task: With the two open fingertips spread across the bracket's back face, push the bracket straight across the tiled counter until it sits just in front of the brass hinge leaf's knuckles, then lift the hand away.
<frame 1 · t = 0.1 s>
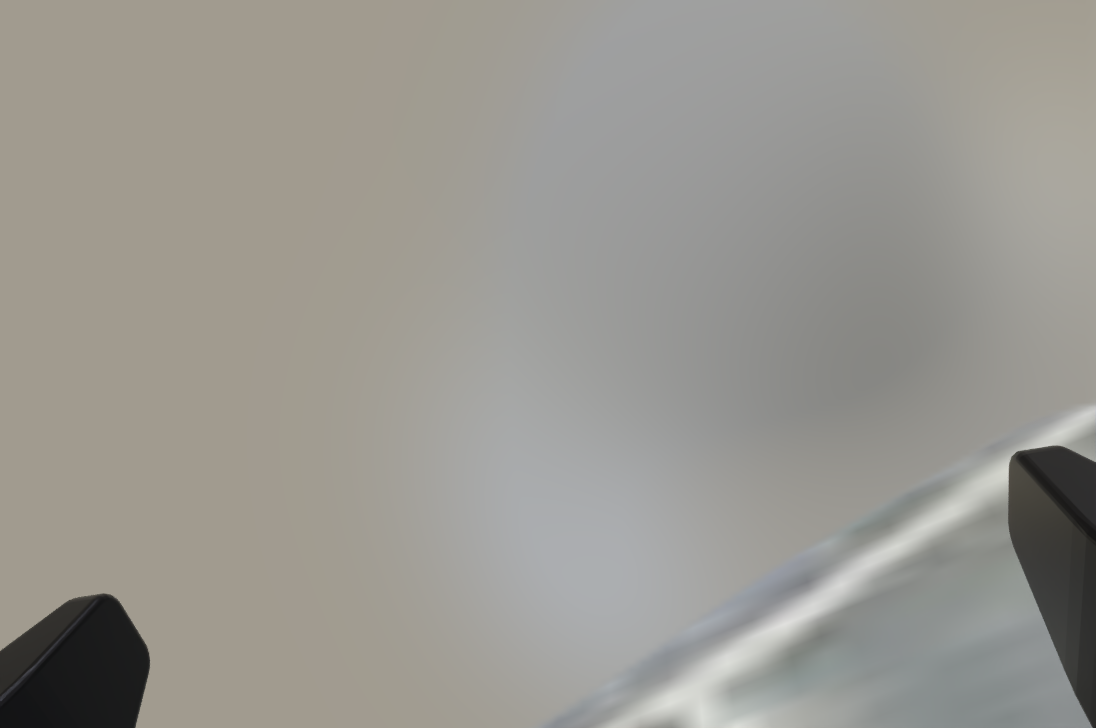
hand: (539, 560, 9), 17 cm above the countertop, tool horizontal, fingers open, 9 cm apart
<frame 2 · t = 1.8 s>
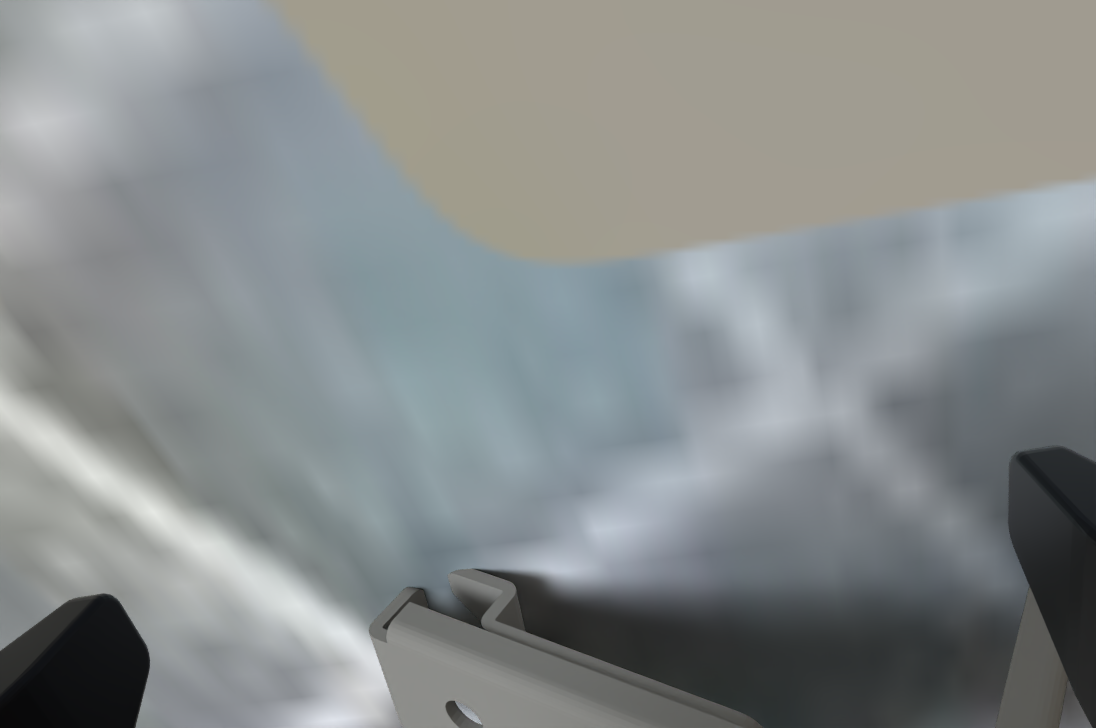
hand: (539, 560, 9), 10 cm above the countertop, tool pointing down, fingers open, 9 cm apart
bracket: (730, 676, 26), on the countertop
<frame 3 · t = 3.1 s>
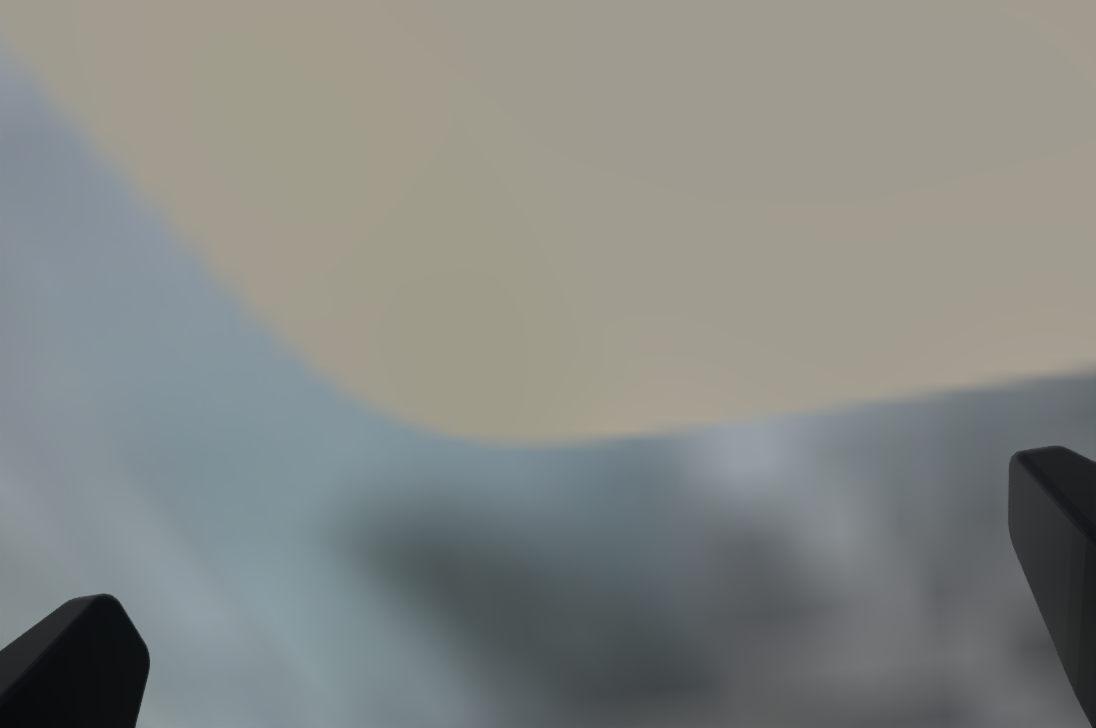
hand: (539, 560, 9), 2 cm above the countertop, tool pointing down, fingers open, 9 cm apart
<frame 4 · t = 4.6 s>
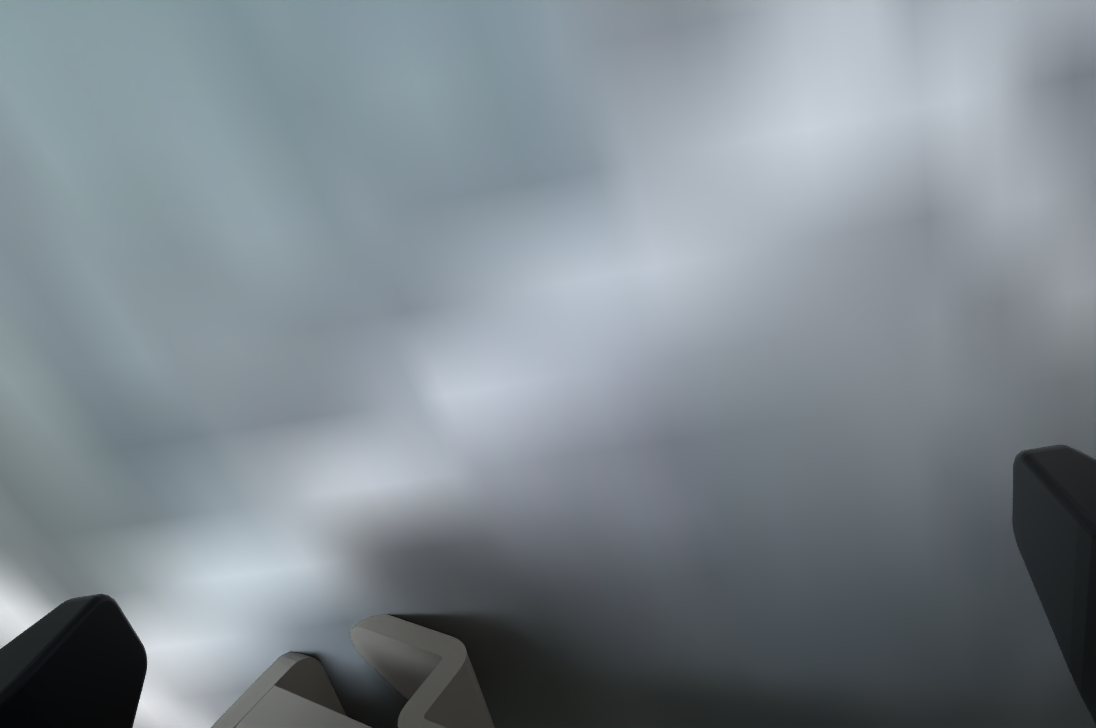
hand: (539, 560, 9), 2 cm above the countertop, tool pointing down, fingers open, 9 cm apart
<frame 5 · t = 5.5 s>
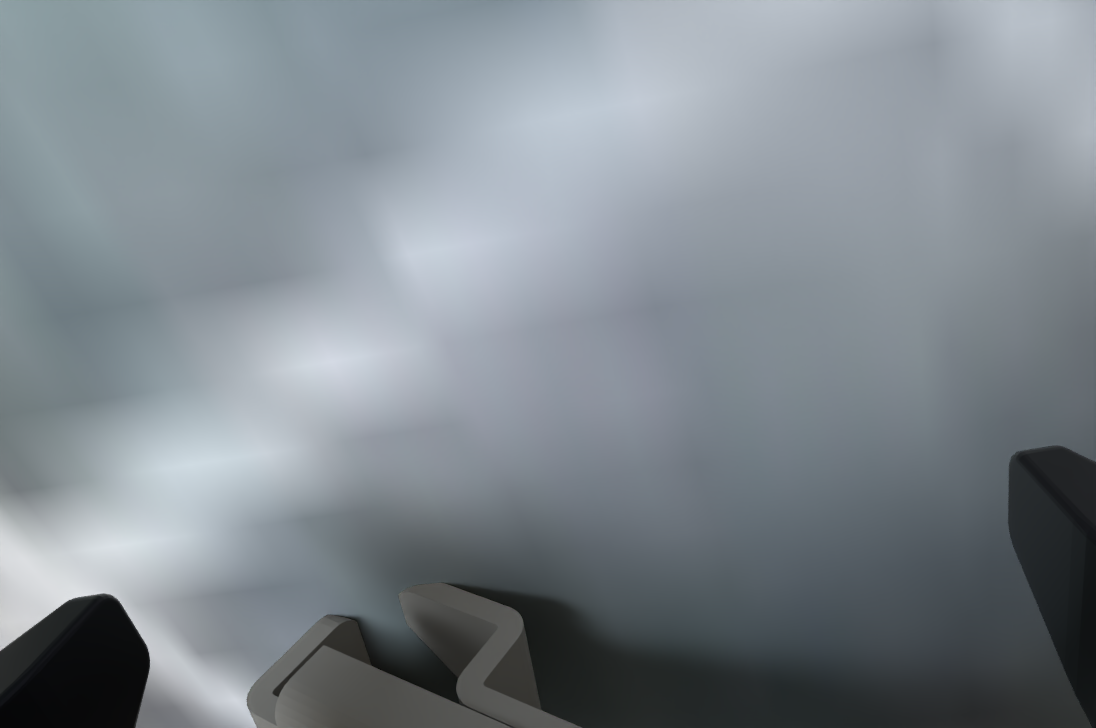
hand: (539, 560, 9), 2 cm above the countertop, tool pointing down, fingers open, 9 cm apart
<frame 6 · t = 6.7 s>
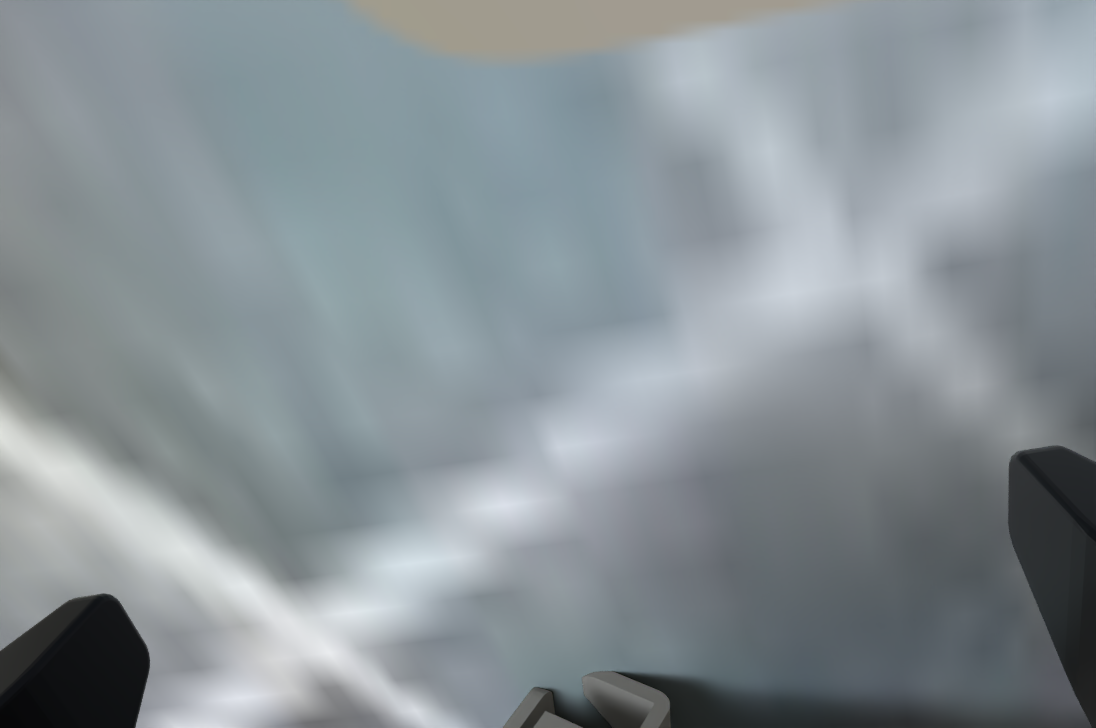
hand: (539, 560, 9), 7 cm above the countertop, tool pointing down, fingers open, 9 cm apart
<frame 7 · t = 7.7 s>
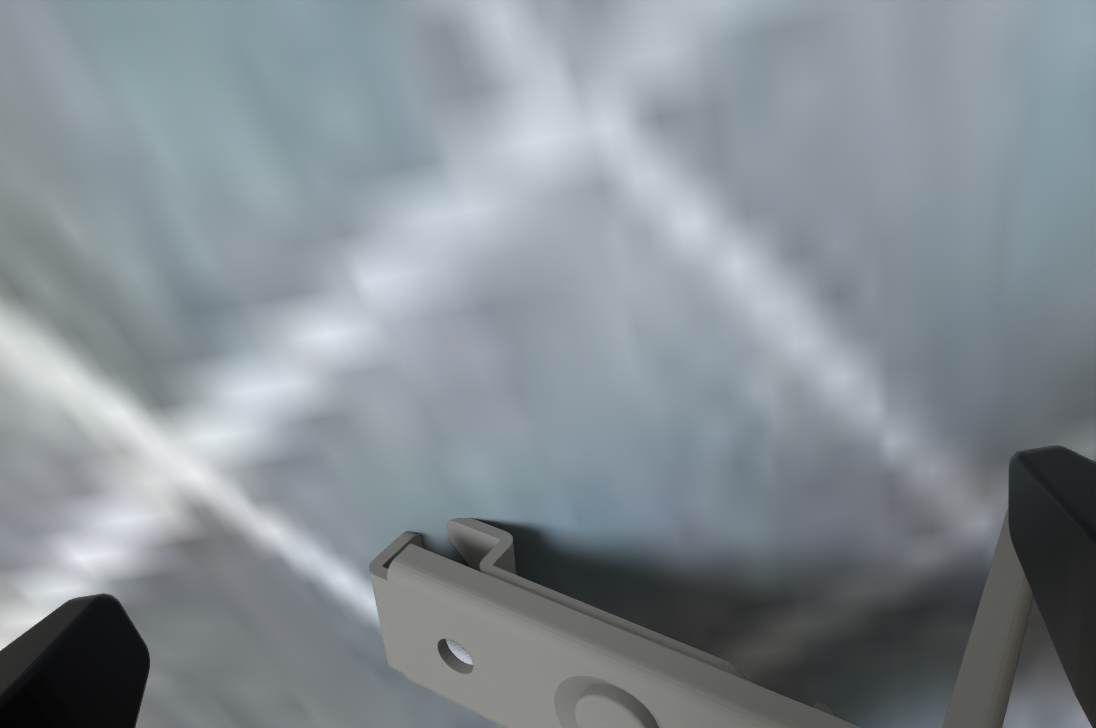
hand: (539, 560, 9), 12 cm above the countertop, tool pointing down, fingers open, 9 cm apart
bracket: (700, 641, 27), on the countertop
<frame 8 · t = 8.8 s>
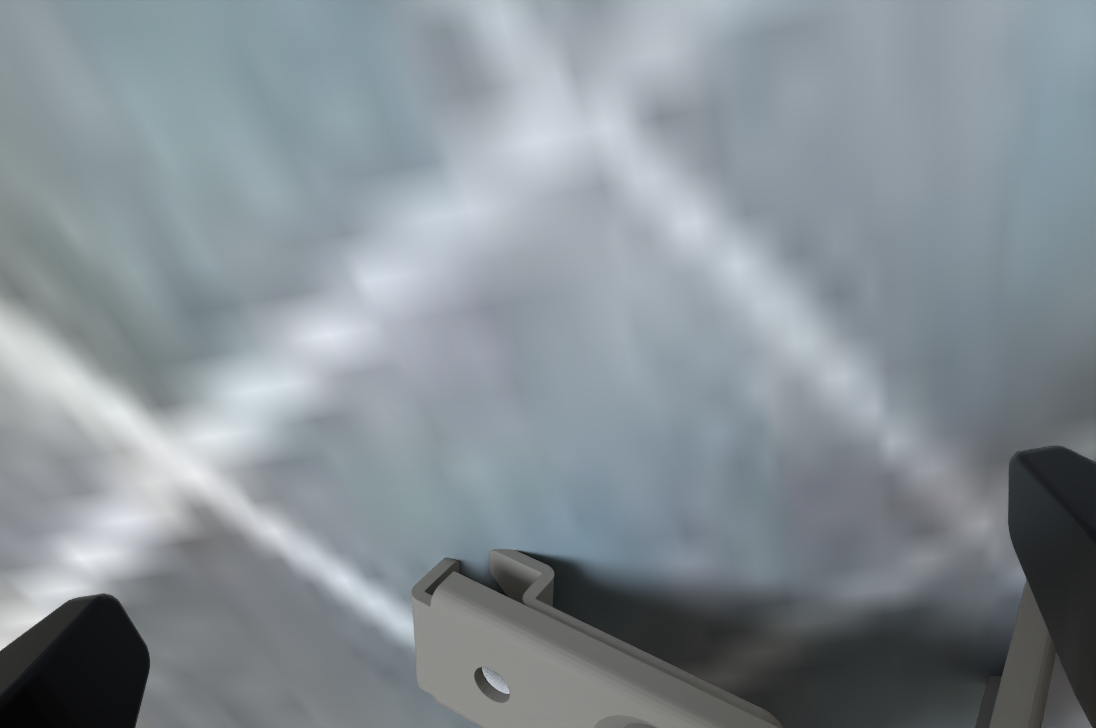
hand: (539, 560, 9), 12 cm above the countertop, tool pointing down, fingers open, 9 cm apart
bracket: (717, 679, 28), on the countertop
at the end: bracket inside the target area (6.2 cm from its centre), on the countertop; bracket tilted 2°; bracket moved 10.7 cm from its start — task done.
